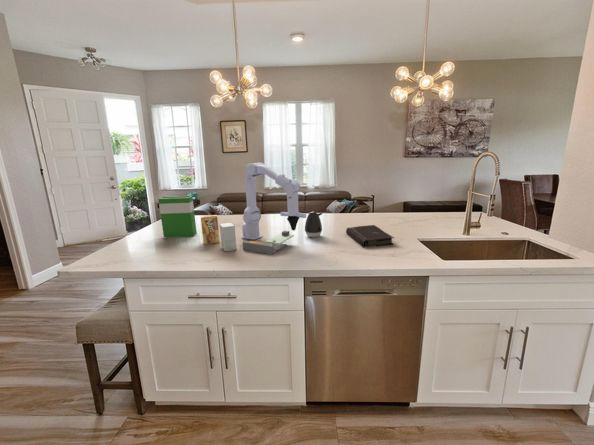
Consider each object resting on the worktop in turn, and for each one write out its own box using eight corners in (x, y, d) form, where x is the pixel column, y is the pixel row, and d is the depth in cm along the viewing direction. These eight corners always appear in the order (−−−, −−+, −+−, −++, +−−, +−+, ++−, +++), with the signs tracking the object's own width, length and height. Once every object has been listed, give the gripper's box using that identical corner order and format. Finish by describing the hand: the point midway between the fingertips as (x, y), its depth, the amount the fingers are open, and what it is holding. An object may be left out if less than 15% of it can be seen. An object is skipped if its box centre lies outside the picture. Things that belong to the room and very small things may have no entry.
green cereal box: (163, 237, 177) (158, 198, 171) (168, 234, 184) (163, 196, 178) (193, 236, 178) (188, 197, 172) (196, 233, 185) (192, 195, 179)
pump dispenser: (321, 239, 167) (321, 213, 163) (303, 238, 169) (303, 212, 165) (323, 234, 176) (323, 209, 173) (306, 233, 179) (306, 209, 175)
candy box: (219, 240, 169) (216, 214, 165) (219, 242, 165) (217, 216, 162) (203, 242, 166) (200, 216, 163) (203, 244, 163) (200, 217, 159)
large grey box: (242, 249, 153) (242, 242, 152) (259, 241, 166) (258, 234, 165) (272, 254, 145) (271, 246, 144) (286, 245, 158) (286, 238, 157)
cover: (281, 234, 163) (281, 229, 162) (293, 236, 159) (293, 231, 159) (266, 242, 150) (265, 237, 149) (279, 244, 146) (279, 239, 145)
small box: (236, 249, 153) (234, 225, 150) (224, 251, 151) (222, 227, 147) (233, 245, 160) (231, 222, 157) (221, 247, 158) (219, 223, 154)
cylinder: (249, 240, 154) (252, 242, 157) (247, 245, 153) (250, 247, 156) (265, 242, 150) (268, 244, 152) (263, 248, 149) (266, 250, 151)
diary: (362, 249, 152) (362, 239, 150) (345, 235, 175) (346, 227, 174) (395, 245, 155) (395, 236, 153) (375, 232, 179) (375, 224, 177)
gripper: (277, 205, 153) (278, 230, 156) (302, 207, 146) (302, 233, 150) (283, 203, 159) (284, 227, 162) (307, 204, 152) (308, 229, 156)
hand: (293, 229), depth 156 cm, fingers closed
